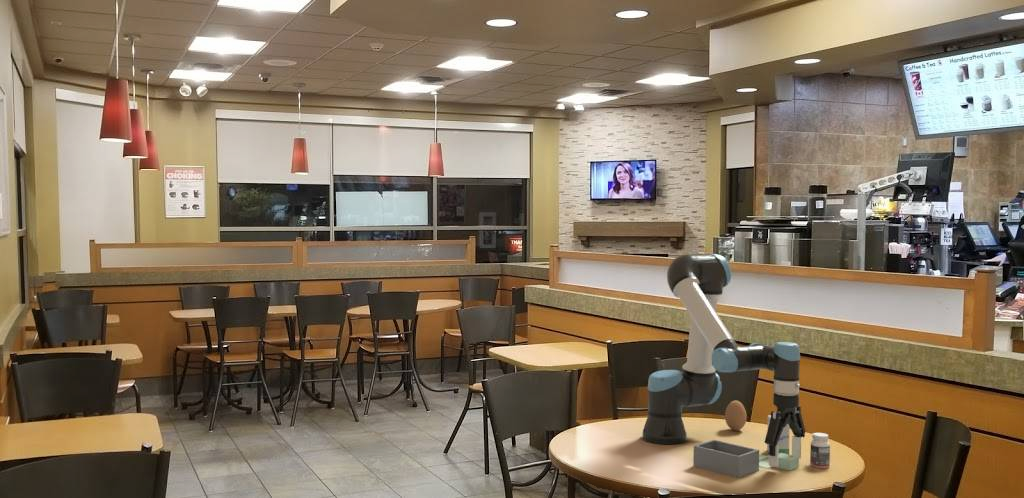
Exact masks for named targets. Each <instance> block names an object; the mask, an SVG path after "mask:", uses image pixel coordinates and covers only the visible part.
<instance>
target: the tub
mask: <svg viewBox="0 0 1024 498" xmlns="http://www.w3.org/2000/svg"><path fill="white" fill-rule="evenodd" d="M759 454H760V449H757V448H753V447H749V446H743V445H738V444H735V443H731V442H726V441H721V440H717V439H712V440H708V441H705V442H702V443H699V444H695V445H693V458H692V459H693V460H692V461H693V462H692V463H693V467H695V468H699V469H704V470H707V471H709V472H710V471H711V472H715V473H718V474H723V475H726V476H731V477H735V478H737V479H739V478H742V477H745V476H748V475H750V474H754V473H756V472H758V471H760V467H759Z"/></svg>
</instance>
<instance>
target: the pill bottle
mask: <svg viewBox="0 0 1024 498" xmlns="http://www.w3.org/2000/svg"><path fill="white" fill-rule="evenodd" d="M811 437H812V440H811V441H810V457H809V458H810V459H809V461H810V463H809V464H810V466H811V467H814V468H815V469H816V468H817V469H827V468H830V464H831V463H830V462H831V444H830V442H829V434H827V433H825V432H824V433H823V432H812V436H811Z"/></svg>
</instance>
